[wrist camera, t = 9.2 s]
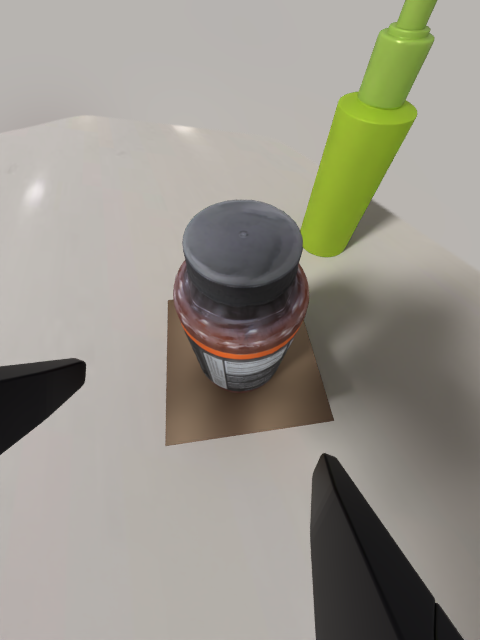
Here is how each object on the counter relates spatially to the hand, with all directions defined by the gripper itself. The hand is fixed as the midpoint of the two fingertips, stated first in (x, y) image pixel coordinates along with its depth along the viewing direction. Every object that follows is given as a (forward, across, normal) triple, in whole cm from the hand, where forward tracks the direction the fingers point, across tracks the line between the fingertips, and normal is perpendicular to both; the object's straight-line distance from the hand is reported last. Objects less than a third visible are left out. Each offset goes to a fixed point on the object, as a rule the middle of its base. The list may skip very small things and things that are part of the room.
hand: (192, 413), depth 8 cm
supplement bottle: (+10, 0, +2) cm, 10 cm away
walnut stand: (+12, 0, +4) cm, 13 cm away
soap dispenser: (+26, -5, -9) cm, 28 cm away
